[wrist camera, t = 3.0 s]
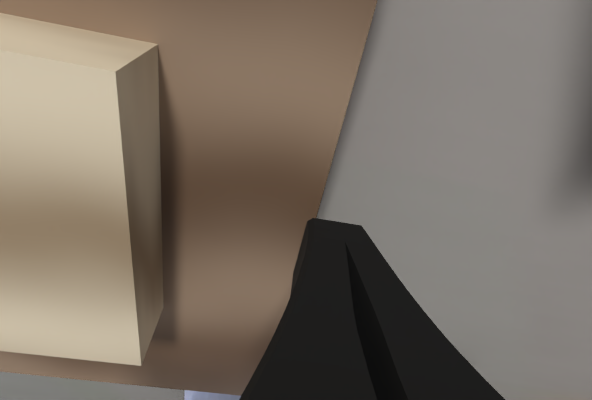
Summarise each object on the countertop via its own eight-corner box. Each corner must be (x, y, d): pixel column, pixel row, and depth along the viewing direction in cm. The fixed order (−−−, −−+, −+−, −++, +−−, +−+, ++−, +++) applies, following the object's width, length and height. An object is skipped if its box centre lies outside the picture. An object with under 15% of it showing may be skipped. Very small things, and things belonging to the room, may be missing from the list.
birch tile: (163, 306, 12) (141, 366, 10) (-40, 281, 11) (-100, 340, 9) (158, 44, 7) (115, 71, 5) (-186, -25, 6) (-352, -17, 5)
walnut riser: (270, 316, 18) (265, 398, 15) (15, 284, 17) (-54, 365, 13) (393, -192, 8) (460, -294, 5) (-217, -367, 7) (-710, -677, 3)
